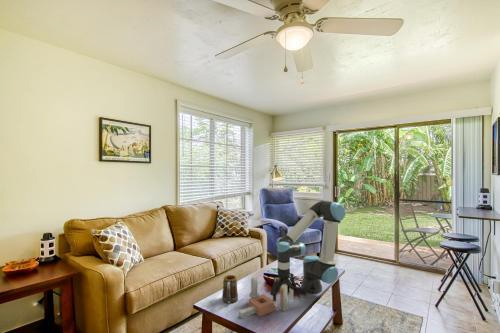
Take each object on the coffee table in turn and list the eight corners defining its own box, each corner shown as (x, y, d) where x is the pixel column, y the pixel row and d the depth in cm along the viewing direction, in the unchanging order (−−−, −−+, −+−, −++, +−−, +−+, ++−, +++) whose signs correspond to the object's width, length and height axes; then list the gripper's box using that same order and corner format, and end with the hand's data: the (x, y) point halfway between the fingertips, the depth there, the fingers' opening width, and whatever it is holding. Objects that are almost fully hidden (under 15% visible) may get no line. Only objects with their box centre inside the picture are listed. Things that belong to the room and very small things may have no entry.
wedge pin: (284, 307, 162) (284, 283, 162) (288, 310, 159) (288, 285, 159) (279, 310, 159) (279, 285, 159) (282, 312, 156) (282, 287, 157)
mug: (223, 295, 177) (223, 274, 177) (238, 296, 176) (238, 274, 177) (219, 308, 161) (219, 284, 161) (236, 308, 161) (236, 284, 161)
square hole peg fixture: (258, 298, 173) (258, 274, 173) (275, 309, 159) (275, 283, 159) (230, 309, 160) (230, 283, 160) (246, 322, 146) (246, 294, 146)
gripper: (293, 261, 169) (293, 294, 169) (264, 270, 155) (264, 306, 155) (301, 265, 163) (302, 299, 163) (272, 274, 149) (272, 311, 149)
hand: (283, 302), depth 159 cm, fingers open, 12 cm apart
